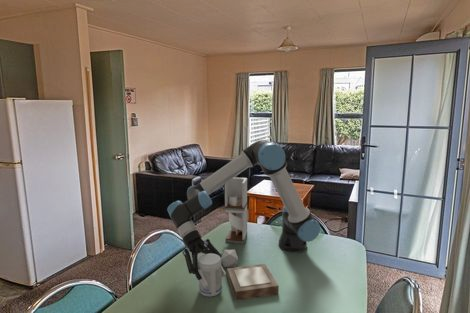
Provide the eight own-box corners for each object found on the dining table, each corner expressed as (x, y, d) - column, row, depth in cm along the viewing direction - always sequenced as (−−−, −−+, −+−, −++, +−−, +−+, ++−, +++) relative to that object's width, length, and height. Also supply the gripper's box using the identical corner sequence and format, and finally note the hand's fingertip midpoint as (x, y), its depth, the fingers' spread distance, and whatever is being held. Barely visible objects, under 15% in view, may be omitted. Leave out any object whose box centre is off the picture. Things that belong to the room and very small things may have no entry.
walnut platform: (265, 271, 146) (265, 263, 145) (278, 294, 128) (278, 285, 128) (227, 276, 142) (227, 267, 141) (235, 300, 125) (235, 291, 124)
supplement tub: (216, 282, 138) (216, 251, 135) (225, 293, 129) (225, 260, 127) (195, 287, 133) (194, 255, 131) (203, 300, 125) (202, 266, 122)
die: (232, 273, 145) (242, 255, 147) (216, 263, 146) (227, 245, 148) (232, 270, 153) (242, 253, 155) (217, 261, 154) (227, 244, 156)
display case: (229, 233, 188) (229, 177, 182) (247, 235, 186) (247, 178, 179) (225, 241, 177) (224, 182, 171) (244, 243, 175) (243, 183, 168)
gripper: (204, 230, 146) (229, 273, 138) (164, 246, 130) (190, 296, 122) (212, 222, 142) (238, 266, 134) (171, 238, 126) (198, 289, 118)
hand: (215, 280), depth 128 cm, fingers closed on supplement tub, 10 cm apart
